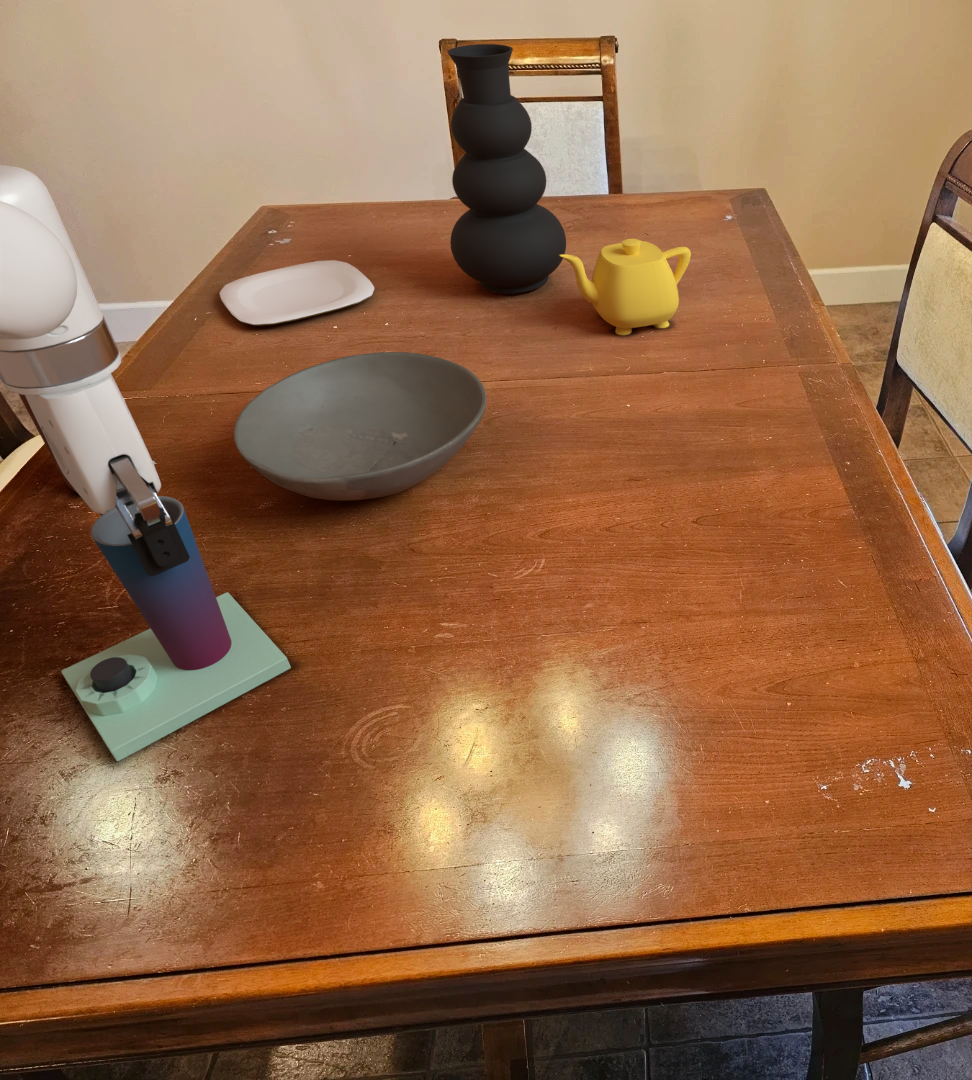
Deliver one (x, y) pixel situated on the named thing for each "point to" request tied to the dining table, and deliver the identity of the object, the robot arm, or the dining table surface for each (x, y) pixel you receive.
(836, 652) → the dining table surface
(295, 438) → the bowl
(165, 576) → the cup
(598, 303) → the teapot
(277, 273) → the plate
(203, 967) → the dining table surface
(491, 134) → the vase
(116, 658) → the tare button
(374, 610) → the dining table surface
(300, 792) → the dining table surface
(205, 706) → the scale
